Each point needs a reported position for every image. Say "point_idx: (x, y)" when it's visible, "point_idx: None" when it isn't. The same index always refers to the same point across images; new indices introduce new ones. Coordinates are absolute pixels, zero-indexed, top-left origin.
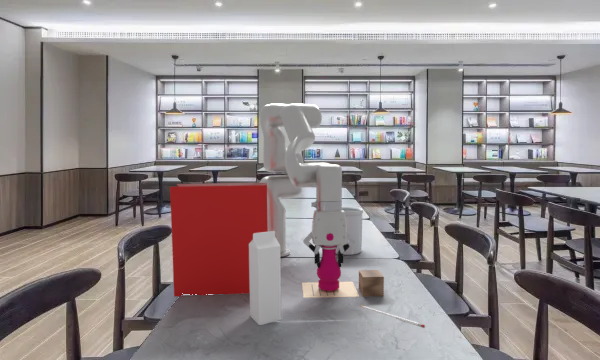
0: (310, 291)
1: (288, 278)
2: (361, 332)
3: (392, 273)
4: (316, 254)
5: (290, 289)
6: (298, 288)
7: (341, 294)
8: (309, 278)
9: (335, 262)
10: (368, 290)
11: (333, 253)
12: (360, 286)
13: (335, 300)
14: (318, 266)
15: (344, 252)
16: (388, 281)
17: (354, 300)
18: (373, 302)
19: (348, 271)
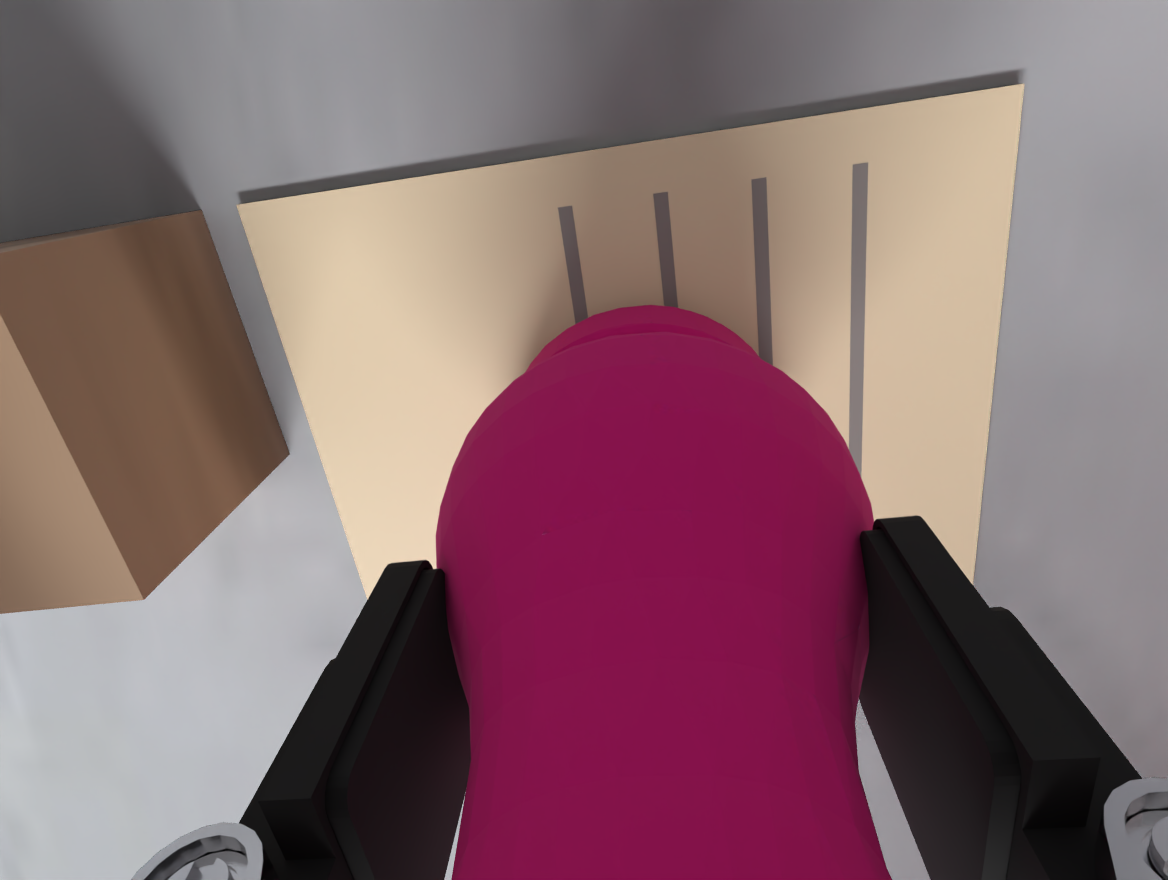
0: (892, 325)
1: (1112, 711)
2: None
3: (39, 840)
4: (1101, 797)
5: (1153, 398)
6: (1036, 437)
7: (475, 257)
8: (862, 717)
9: (492, 593)
10: (69, 234)
11: (508, 809)
12: (210, 383)
13: (548, 54)
14: (898, 522)
15: (145, 869)
16: (25, 672)
17: (289, 84)
18: (31, 36)
19: (451, 875)
